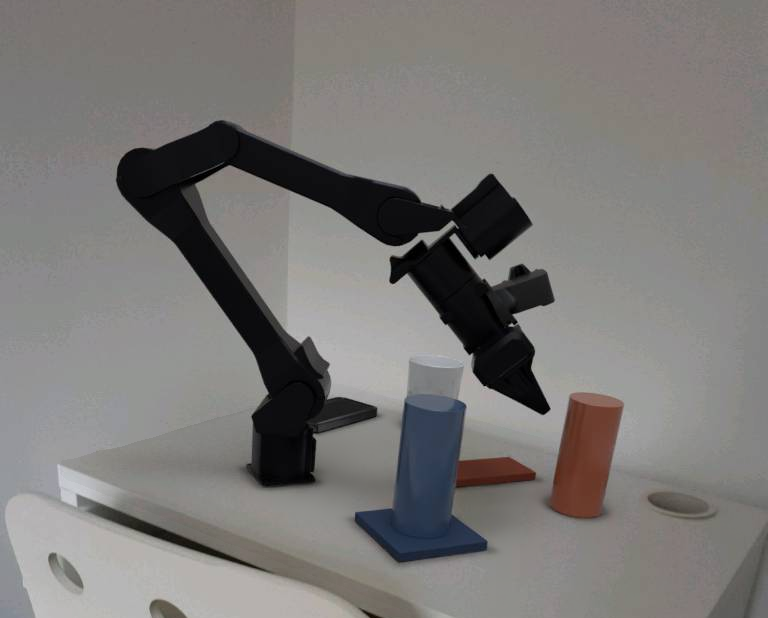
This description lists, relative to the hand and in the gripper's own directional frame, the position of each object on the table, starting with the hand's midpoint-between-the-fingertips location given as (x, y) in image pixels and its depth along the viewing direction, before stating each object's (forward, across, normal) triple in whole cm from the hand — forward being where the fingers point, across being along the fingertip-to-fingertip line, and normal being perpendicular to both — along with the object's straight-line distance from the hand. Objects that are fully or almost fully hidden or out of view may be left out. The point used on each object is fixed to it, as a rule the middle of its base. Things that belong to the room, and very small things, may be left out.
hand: (541, 401), depth 90 cm
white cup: (+1, +26, +16) cm, 31 cm away
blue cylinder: (-1, -13, +16) cm, 21 cm away
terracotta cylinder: (+13, 0, +4) cm, 14 cm away
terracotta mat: (+6, +8, +12) cm, 15 cm away
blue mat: (0, -13, +17) cm, 21 cm away
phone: (-10, +26, +27) cm, 38 cm away
